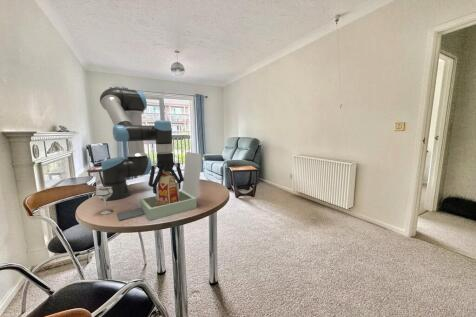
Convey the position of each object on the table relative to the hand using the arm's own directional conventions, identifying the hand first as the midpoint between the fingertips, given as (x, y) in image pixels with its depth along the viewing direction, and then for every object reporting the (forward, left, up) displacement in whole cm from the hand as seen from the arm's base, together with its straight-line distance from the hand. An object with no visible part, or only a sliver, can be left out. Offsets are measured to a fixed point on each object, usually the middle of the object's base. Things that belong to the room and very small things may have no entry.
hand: (167, 197), depth 99 cm
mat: (-4, -17, -6) cm, 18 cm away
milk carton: (0, 0, -6) cm, 6 cm away
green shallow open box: (0, 0, -6) cm, 6 cm away
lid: (0, +13, +10) cm, 17 cm away
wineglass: (-15, -25, -6) cm, 30 cm away
